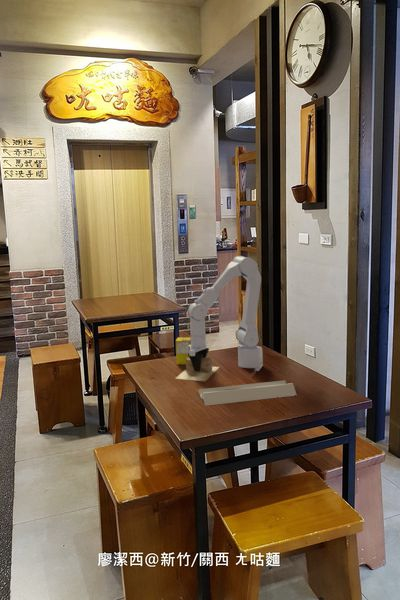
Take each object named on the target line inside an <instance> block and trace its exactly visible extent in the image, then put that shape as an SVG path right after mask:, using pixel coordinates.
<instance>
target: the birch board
mask: <svg viewBox="0 0 400 600" xmlns="http://www.w3.org/2000/svg"><path fill="white" fill-rule="evenodd" d="M219 368H220V366H213V365H212V371H211V372H210V373H209V374H201V373H189V372H186V369H184V370H183V371H182V372H181V373H180V374H178V376H176V377H175V379H177V380H187V381H197V382H198V381H199V382H206V381H207V380H209V379H210V378H211V376H212V375H214V373H215V372H216V371H218V369H219Z"/></svg>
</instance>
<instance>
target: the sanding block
mask: <svg viewBox="0 0 400 600" xmlns="http://www.w3.org/2000/svg"><path fill="white" fill-rule="evenodd" d="M212 366H213V357H207V356H206V357H202V359H201V367H200V371H194V368H193V365H192V362H191V360H190V358H187V359H186V364H185V370H186V372H189V373H201V374H209V373H210V372H211V371H212Z"/></svg>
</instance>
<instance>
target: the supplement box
mask: <svg viewBox="0 0 400 600" xmlns="http://www.w3.org/2000/svg"><path fill="white" fill-rule="evenodd" d="M188 345H191V336H183V337H182V336H179V337H177V338H176V339H175V354H176V355H175V357H176V365H186V359H187V358H189V357H188V353H189V351H190V348H188Z"/></svg>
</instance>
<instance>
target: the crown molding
mask: <svg viewBox="0 0 400 600" xmlns="http://www.w3.org/2000/svg"><path fill="white" fill-rule="evenodd" d="M286 381H287V380H286V379H285V380H284V379H283V380H275V381H267V382H266V381H265V382H257V383H248V384H239V385H238V384H236V385H229V386H228V385H227V386H219V387H210V388H208V387H207V388H202V389H201V388H199V389H198V394H199V396H200V398H201V400H203V403H204V405H205V407H206V406H214V405H222V404H234V403H242V402H248V401H251V402H252V401H258V400H268V399H277V397H278V398H287V397H295V395H296V396H298V395H297V392H296V388H295V386H294V383H293V382H290V383H289V382H288V383H287V382H286Z"/></svg>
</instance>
